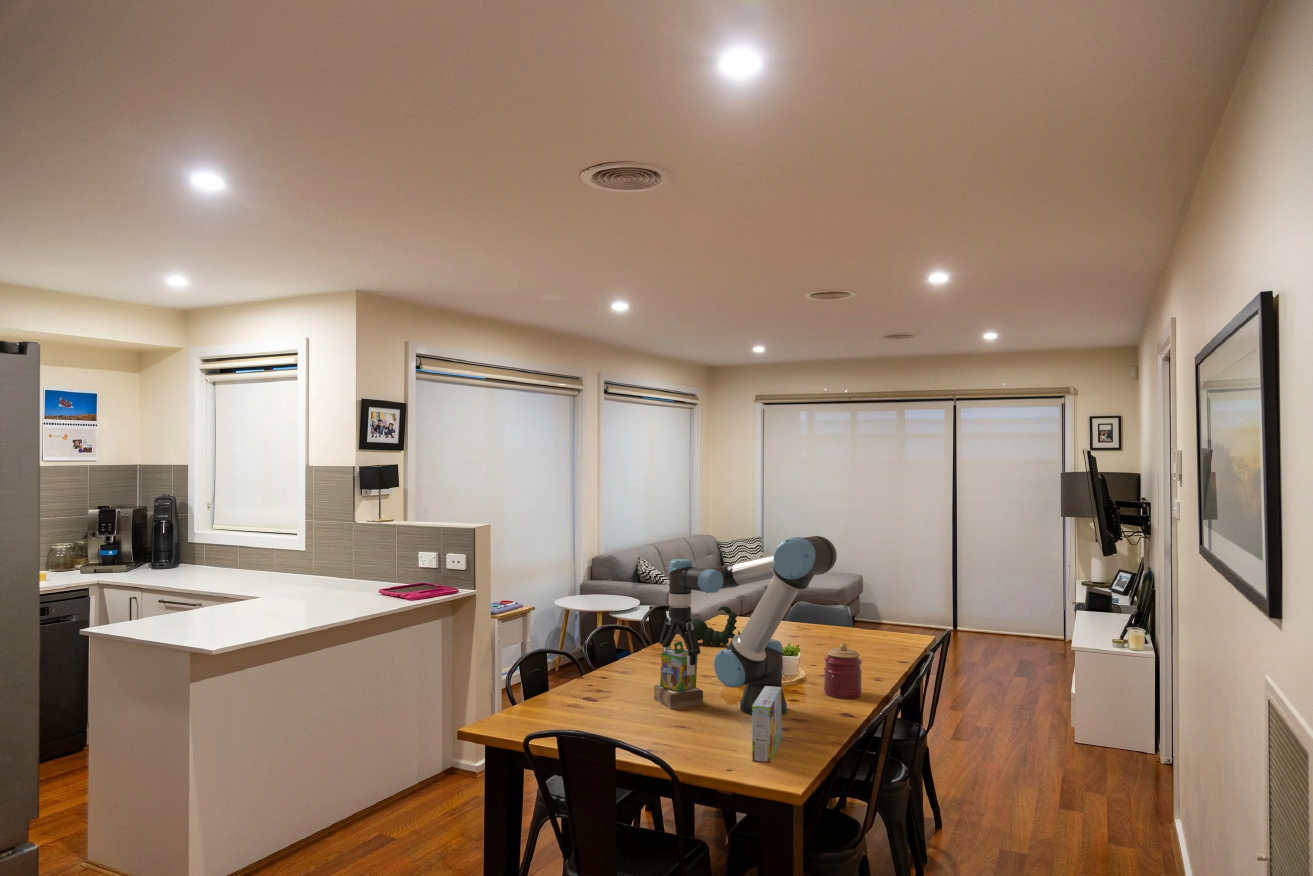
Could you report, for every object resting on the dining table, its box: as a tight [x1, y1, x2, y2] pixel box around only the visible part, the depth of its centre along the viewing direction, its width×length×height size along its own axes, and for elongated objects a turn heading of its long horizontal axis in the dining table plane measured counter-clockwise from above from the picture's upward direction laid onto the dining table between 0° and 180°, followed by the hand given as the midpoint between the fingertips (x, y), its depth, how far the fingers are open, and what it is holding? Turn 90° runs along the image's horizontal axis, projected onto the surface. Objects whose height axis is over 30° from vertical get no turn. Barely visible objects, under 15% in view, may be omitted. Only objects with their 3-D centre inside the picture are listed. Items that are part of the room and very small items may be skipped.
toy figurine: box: [689, 605, 738, 648], centre depth 364 cm, size 9×19×25 cm
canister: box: [823, 642, 863, 700], centre depth 288 cm, size 13×13×18 cm
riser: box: [653, 684, 704, 710], centre depth 274 cm, size 12×12×5 cm
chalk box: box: [659, 641, 699, 692], centre depth 274 cm, size 9×9×15 cm
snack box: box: [751, 686, 783, 764], centre depth 230 cm, size 21×6×15 cm, turn 163°
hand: (678, 670), depth 274 cm, fingers open, 12 cm apart
